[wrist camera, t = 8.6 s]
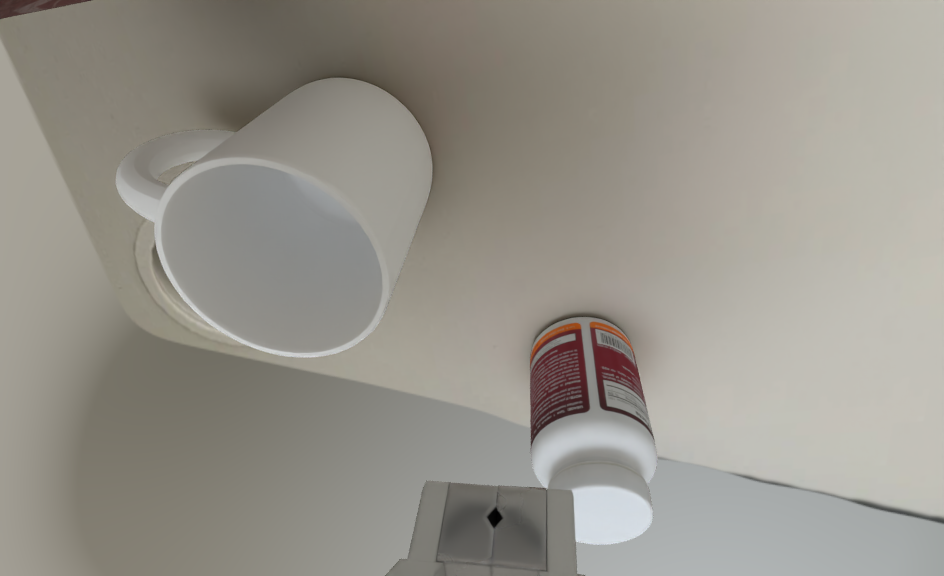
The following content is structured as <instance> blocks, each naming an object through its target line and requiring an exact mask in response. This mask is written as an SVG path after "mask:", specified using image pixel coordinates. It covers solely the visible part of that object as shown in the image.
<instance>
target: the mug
mask: <svg viewBox="0 0 944 576" xmlns="http://www.w3.org/2000/svg"><path fill="white" fill-rule="evenodd" d="M193 161H197V162H195V163H194V164H193V165H191V166H190V167H188V168H187V169H186V170H184V171H183V172H182V173H181V174H179V175H178V176H177V177H176V178H175V179H174V180H173V181H172V182H171V183H170V185H167V184H164V183H162V182H160V181H158V180H157V178H158V177H159V176H160V175H161V174H162V173H164V172H165V171H167V170H169V169H170V168H172V167H175V166H177V165H180V164H184V163H188V162H193ZM432 169H433V167H432V157H431V152H430V148H429V144H428V142H427V139H426V136H425V134H424V132H423V130H422V128H421V127H420V125H419V123H418V122H417V120H416V119H415V118H414V116H413V115H412V114H411V112H410V111H409V110H408V109H407V108H406V107H405V106H404V105H403V104H402V103H401V102H400V101H398V100H397V99H396V98H395V97H393V96H392V95H390V94H389V93H388V92H386V91H384V90H382V89H380V88H379V87H377V86H375V85H372V84H369V83H367V82H364V81H360V80H356V79H350V78H327V79H322V80H317V81H314V82H311V83H308V84H305V85H303V86H301V87H300V88H298V89H296V90H294V91H292V92H291V93H289V94H288V95H286V96H285V97H284V98H282V99H281V100H280V101H278V102H277V103H276V104H274V105H273V106H271V107H270V108H269V109H267V110H266V111H265V112H263V113H262V114H261V115H259V116H258V117H256V118H255V119H254V120H252V121H251V122H250V123H248V124H247V125H246V126H244V127H243V128H242V129H240V130H239V131H237V132H233V131H225V130H190V131H182V132H176V133H172V134H168V135H164V136H161V137H158V138H155V139H153V140H150V141H148V142H146V143H144V144H142V145H140V146H138V147H136V148H135V149H133V150H132V151H130V152H129V153H128V154H127V155H126V156H125V157H124V159H123V160H122V162H121V163H120V165H119V167H118V168H117V173H116V186H117V190H118V192H119V194H120V196H121V198H122V199H123V200H124V202H125V203H126V204H127V205H128V206H129V207H131V208H132V209H133V210H134V211H135V212H137V213H138V214H139V215H141V216H143V217H144V218H146V219H148V220H150V221H152V222H154V223H155V224H154V230H155V242H156V248H157V252H158V255H159V258H160V261H161V264H162V266H163V268H164V270H165V273H166V275H167V277H168V278H169V280H170V282H171V283H172V285H173V286H174V288H175V289H176V291H177V292H178V293H179V295H180V296H181V297H182V298H183V300H184V301H185V302H186V303H187V304H188V305H189V306H190V307H191V308H192V309H193V310H194V311H195V312H196V313H197V314H198V315H199V316H200V317H202V318H203V319H204V320H205V321H206V322H208V323H209V324H210V325H212V326H213V327H214V328H216V329H217V330H219V331H220V332H222V333H224V334H225V335H227V336H229V337H231V338H232V339H234V340H236V341H238V342H240V343H242V344H245V345H247V346H250V347H252V348H255V349H258V350H261V351H264V352H268V353H272V354H277V355H281V356H289V357H306V358H309V357H321V356H326V355H331V354H335V353H338V352H341V351H344V350H346V349H348V348H350V347H352V346H354V345H356V344H357V343H359V342H360V341H362V340H363V339H365V338H366V337H367V336H368V335H369V334H370V333H371V332H372V331H373V330H374V329H375V328H376V326H377V325H378V324H379V322H380V321H381V319H382V317H383V315H384V313H385V311H386V309H387V306H388V304H389V301H390V298H391V296H392V293H393V290H394V288H395V285H396V282H397V280H398V277H399V275H400V272H401V269H402V267H403V264H404V261H405V259H406V256H407V253H408V251H409V248H410V245H411V243H412V240H413V238H414V235H415V232H416V230H417V227H418V224H419V222H420V219H421V216H422V214H423V211H424V209H425V206H426V203H427V200H428V197H429V193H430V189H431V183H432Z"/></svg>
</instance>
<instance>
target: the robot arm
mask: <svg viewBox="0 0 944 576" xmlns="http://www.w3.org/2000/svg"><path fill="white" fill-rule="evenodd" d="M385 576H585V575H580V574H577V560H576V537H575V516H574V496H573V492H572V490H560V489H547V490H546V488H535V487H516V486H490V485H477V484H463V483H451V482H441V481H426V483H425V485H424V487H423V490H422V494H421V499H420V504H419V508H418V513H417V517H416V522H415V527H414V532H413V536H412V540H411V545H410V550H409V554H408V559H400V560H399V561H398V562H397V563H396V564H395V565H394V566H393V568H392V569H391V570H390V571H389V572H388V573H387V574H386V575H385Z"/></svg>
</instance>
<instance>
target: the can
mask: <svg viewBox="0 0 944 576" xmlns="http://www.w3.org/2000/svg"><path fill="white" fill-rule="evenodd" d="M86 1H91V0H0V19H2V18H7V17H12V16H17V15H22V14H27V13H32V12H37V11H42V10H47V9H52V8H57V7H62V6H66V5H71V4H76V3H81V2H86Z"/></svg>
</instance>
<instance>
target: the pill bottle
mask: <svg viewBox="0 0 944 576" xmlns="http://www.w3.org/2000/svg"><path fill="white" fill-rule="evenodd" d="M530 399H531V421H530V422H531V461H532V467H533V470H534V473H535V475H536V477H537V478H538V480H539V481H540V483H541V484H542V485H543V486H544V487H545V488H546V489H560V490H572V492H573V496H574V516H575V537H576V541H578V542H582V543H587V544H596V545H604V544H605V545H606V544H615V543H621V542H624V541H628V540H631V539H633V538H635V537H637V536H639V535H640V534H642V533H643V532H644V531H645V530H646V529H648V527H649V526H650V524H651V522H652V520H653V508H652V502H651V496H650V490H649V487H648V485H647V484H648V483H649V482H650V481H651V479H652V477H653V475H654V473H655V471H656V467H657V451H656V446H655V441H654V437H653V433H652V428H651V424H650V420H649V416H648V412H647V408H646V403H645V399H644V394H643V390H642V386H641V382H640V377H639V373H638V369H637V364H636V360H635V356H634V352H633V349H632V346H631V343H630V341H629V339H628V338H627V336H626V335H625V334H624V333H623V332H622V331H621V330H620V329H619V328H618V327H616V326H615V325H613V324H611V323H609V322H607V321H605V320H602V319H598V318H592V317H575V318H569V319H566V320H563V321H560V322H557V323H555V324H553V325H551V326H550V327H548V328H547V329H545V330H544V331H543V332H542V333H541V334H540V335H539V336H538V338H537V339H536V340H535V342H534V345H533V347H532V350H531V359H530Z"/></svg>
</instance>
